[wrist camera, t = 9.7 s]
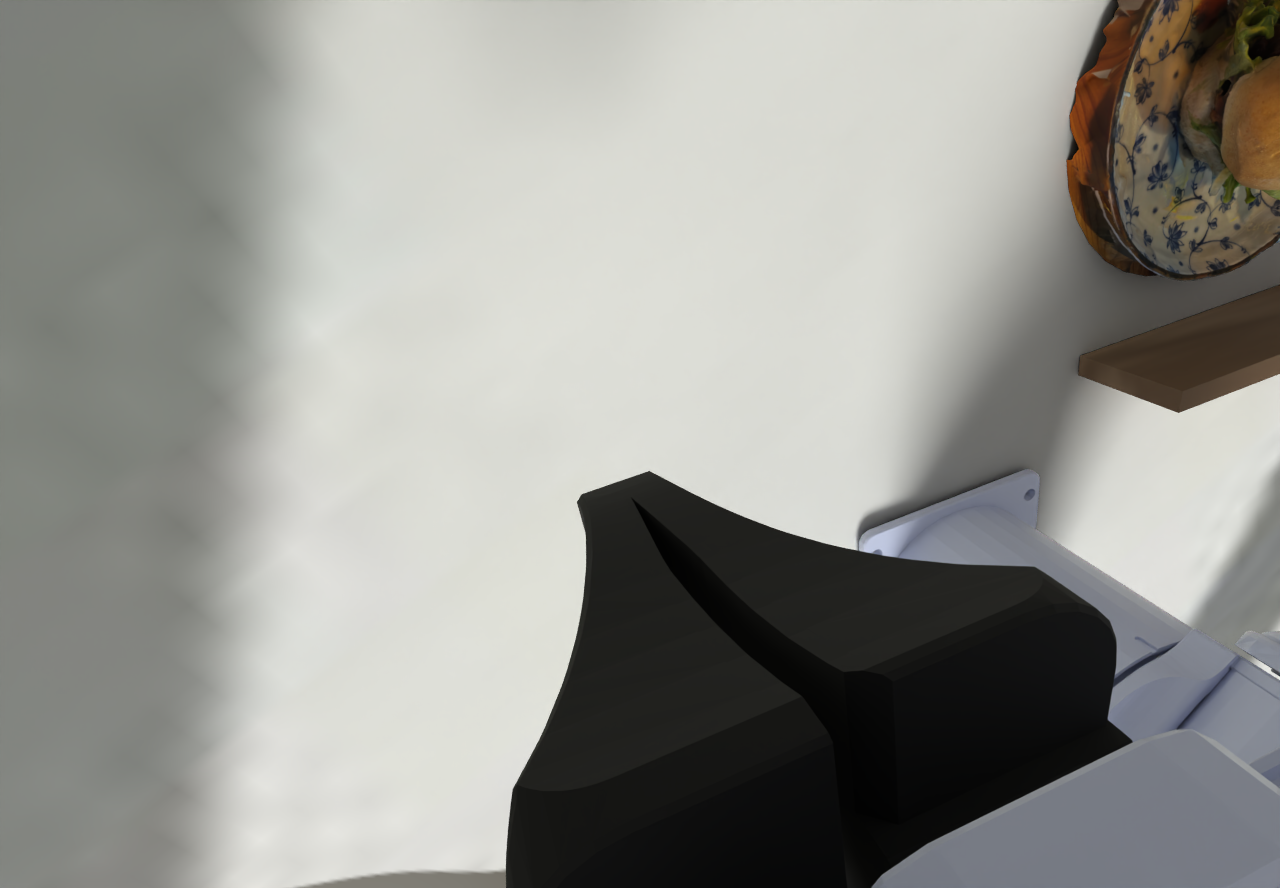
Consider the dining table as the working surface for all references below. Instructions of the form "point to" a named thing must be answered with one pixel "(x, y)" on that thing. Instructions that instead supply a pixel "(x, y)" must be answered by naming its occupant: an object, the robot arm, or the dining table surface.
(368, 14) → the dining table surface
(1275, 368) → the box
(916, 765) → the robot arm
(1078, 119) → the burger
